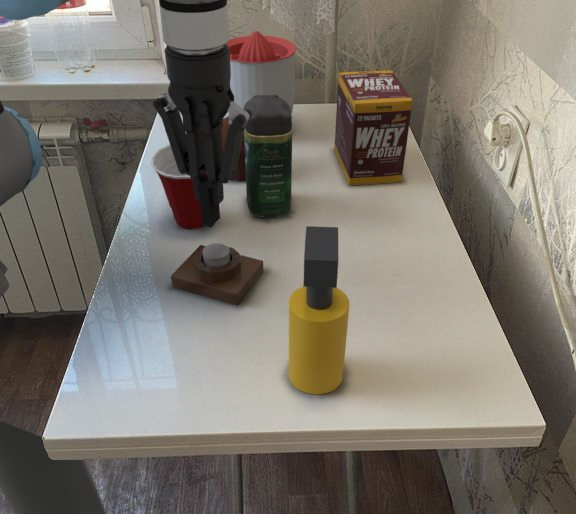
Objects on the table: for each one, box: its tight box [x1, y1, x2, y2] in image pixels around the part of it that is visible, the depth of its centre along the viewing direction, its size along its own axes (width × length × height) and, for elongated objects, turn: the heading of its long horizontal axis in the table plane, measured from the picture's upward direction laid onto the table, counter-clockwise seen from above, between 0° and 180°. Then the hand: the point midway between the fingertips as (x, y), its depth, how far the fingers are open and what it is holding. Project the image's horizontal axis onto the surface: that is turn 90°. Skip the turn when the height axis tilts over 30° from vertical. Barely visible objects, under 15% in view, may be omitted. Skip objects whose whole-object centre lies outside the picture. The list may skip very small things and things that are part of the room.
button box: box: [170, 244, 265, 307], centre depth 93 cm, size 11×9×4 cm
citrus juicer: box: [225, 30, 297, 117], centre depth 126 cm, size 16×17×20 cm
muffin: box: [221, 116, 246, 182], centre depth 117 cm, size 12×11×10 cm
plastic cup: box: [150, 143, 207, 230], centre depth 102 cm, size 11×11×12 cm
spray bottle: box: [288, 225, 350, 395], centre depth 73 cm, size 8×7×20 cm
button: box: [203, 242, 230, 267], centre depth 91 cm, size 4×4×2 cm
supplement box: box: [333, 70, 414, 186], centre depth 116 cm, size 10×15×16 cm
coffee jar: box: [243, 95, 293, 219], centre depth 104 cm, size 10×8×19 cm
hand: (211, 221), depth 88 cm, fingers closed
